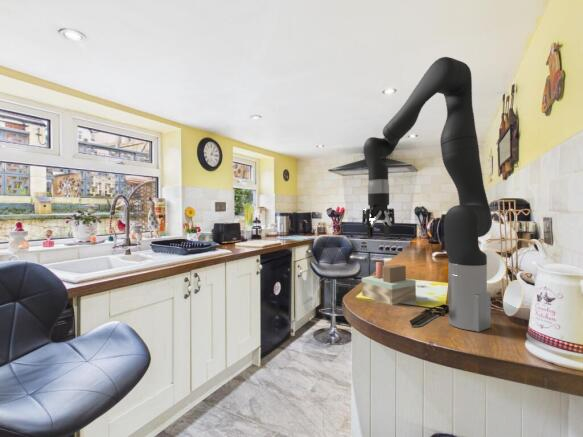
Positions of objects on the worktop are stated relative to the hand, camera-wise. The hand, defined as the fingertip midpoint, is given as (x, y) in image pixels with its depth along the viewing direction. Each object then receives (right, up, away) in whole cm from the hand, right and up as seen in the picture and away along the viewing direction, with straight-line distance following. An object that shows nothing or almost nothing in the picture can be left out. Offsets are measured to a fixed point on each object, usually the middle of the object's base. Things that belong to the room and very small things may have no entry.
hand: (379, 236), depth 114 cm
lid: (+2, -17, -3) cm, 17 cm away
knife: (+10, -23, -21) cm, 33 cm away
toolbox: (+2, -23, -3) cm, 23 cm away
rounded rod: (0, -22, 0) cm, 22 cm away
